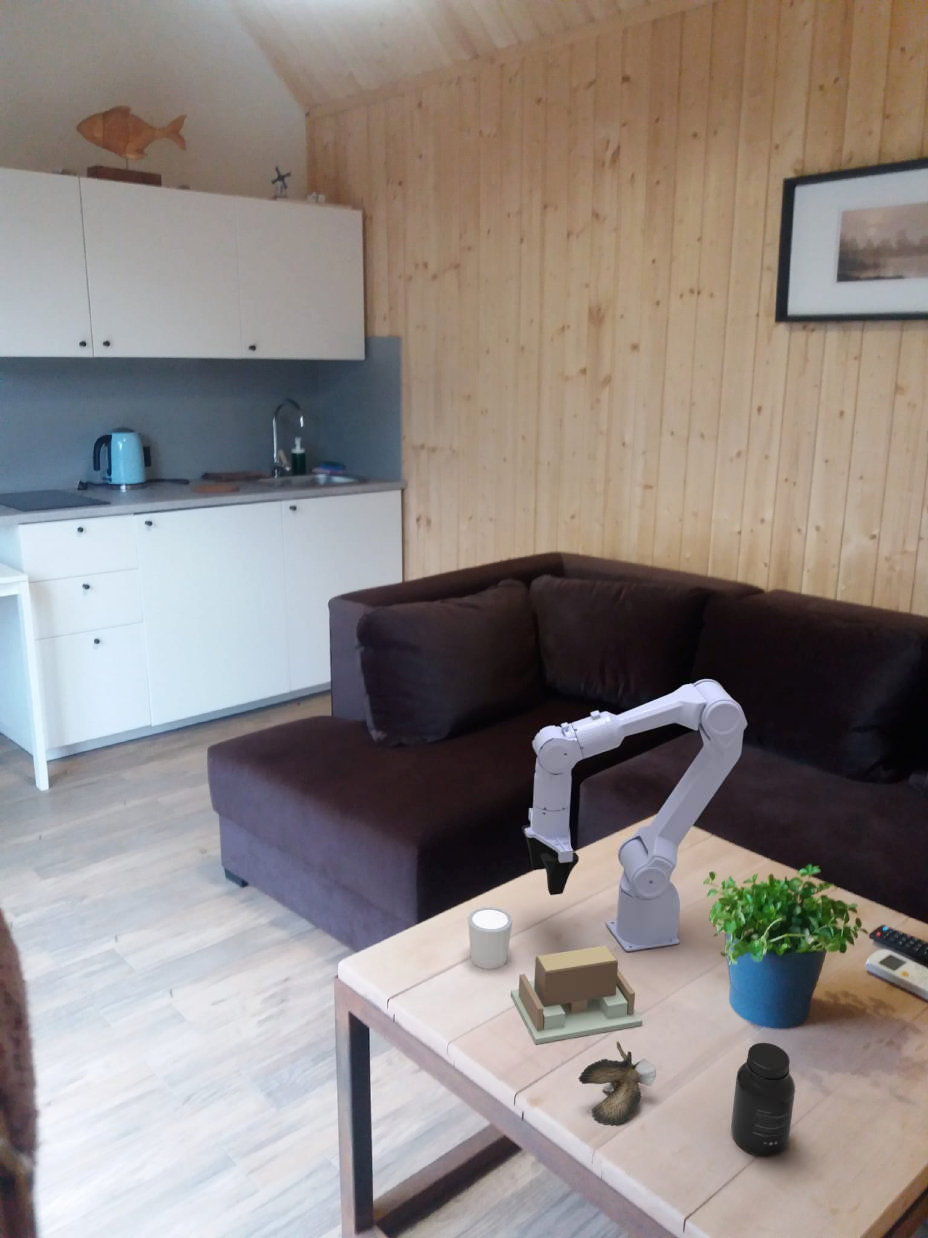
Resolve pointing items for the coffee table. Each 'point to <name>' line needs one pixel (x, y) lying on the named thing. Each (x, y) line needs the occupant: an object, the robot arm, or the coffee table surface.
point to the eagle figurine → (618, 1085)
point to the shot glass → (489, 937)
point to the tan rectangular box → (575, 976)
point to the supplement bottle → (763, 1101)
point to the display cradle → (575, 1013)
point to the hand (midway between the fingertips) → (547, 880)
